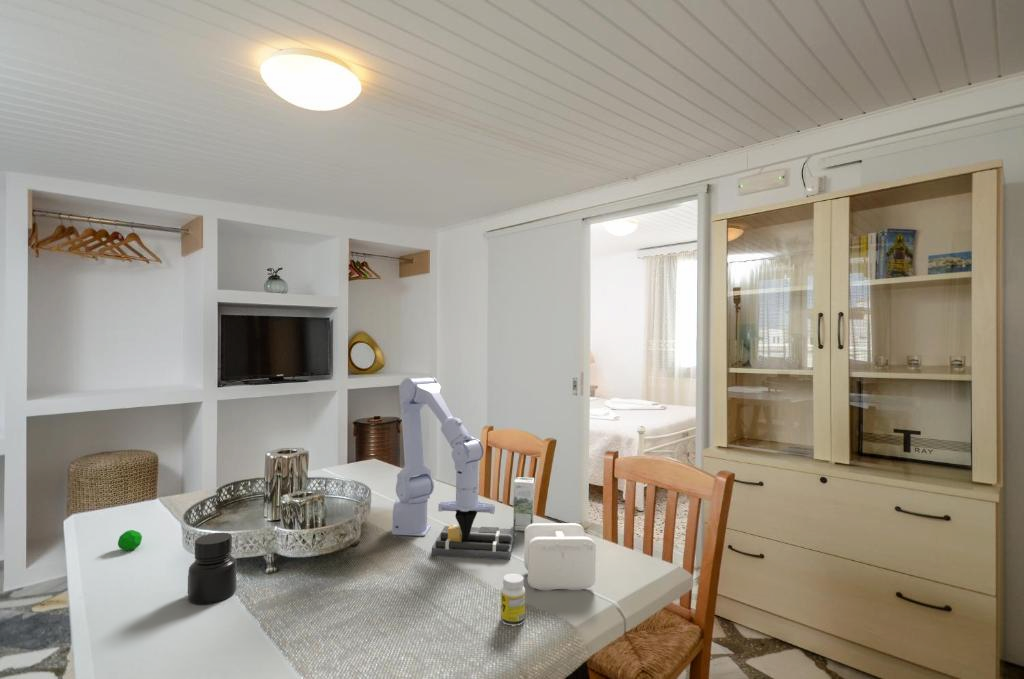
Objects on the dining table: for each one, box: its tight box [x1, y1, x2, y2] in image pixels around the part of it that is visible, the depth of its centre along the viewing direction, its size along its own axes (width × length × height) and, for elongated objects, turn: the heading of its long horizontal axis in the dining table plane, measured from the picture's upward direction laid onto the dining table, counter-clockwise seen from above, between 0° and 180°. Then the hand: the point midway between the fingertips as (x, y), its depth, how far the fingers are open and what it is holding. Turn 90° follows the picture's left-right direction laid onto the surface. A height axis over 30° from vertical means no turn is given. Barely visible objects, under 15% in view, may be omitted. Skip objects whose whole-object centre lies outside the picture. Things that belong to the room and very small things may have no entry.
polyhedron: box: [117, 529, 143, 552], centre depth 134 cm, size 5×5×5 cm
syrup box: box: [512, 476, 535, 533], centre depth 153 cm, size 6×6×14 cm
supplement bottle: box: [500, 573, 526, 625], centre depth 102 cm, size 5×5×8 cm
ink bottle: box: [187, 532, 238, 605], centre depth 111 cm, size 10×9×12 cm
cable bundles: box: [435, 530, 512, 552], centre depth 136 cm, size 19×10×2 cm, turn 85°
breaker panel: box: [431, 525, 516, 561], centre depth 140 cm, size 20×16×3 cm
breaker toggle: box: [448, 524, 461, 542], centre depth 136 cm, size 3×3×4 cm
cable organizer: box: [523, 522, 597, 591], centre depth 120 cm, size 15×11×12 cm
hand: (466, 539), depth 135 cm, fingers closed
